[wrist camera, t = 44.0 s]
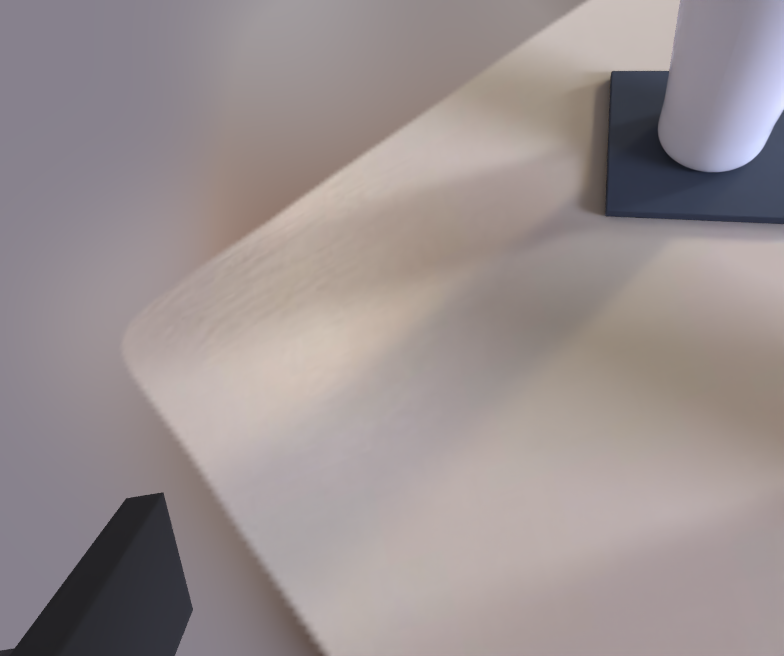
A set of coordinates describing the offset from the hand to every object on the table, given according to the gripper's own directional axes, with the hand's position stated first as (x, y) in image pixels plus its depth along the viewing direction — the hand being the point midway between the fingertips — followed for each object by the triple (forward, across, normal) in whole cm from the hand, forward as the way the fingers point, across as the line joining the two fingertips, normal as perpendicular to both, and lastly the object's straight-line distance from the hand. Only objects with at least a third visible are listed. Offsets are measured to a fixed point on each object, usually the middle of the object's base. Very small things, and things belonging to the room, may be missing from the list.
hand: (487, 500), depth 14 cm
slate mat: (+24, +17, +6) cm, 30 cm away
